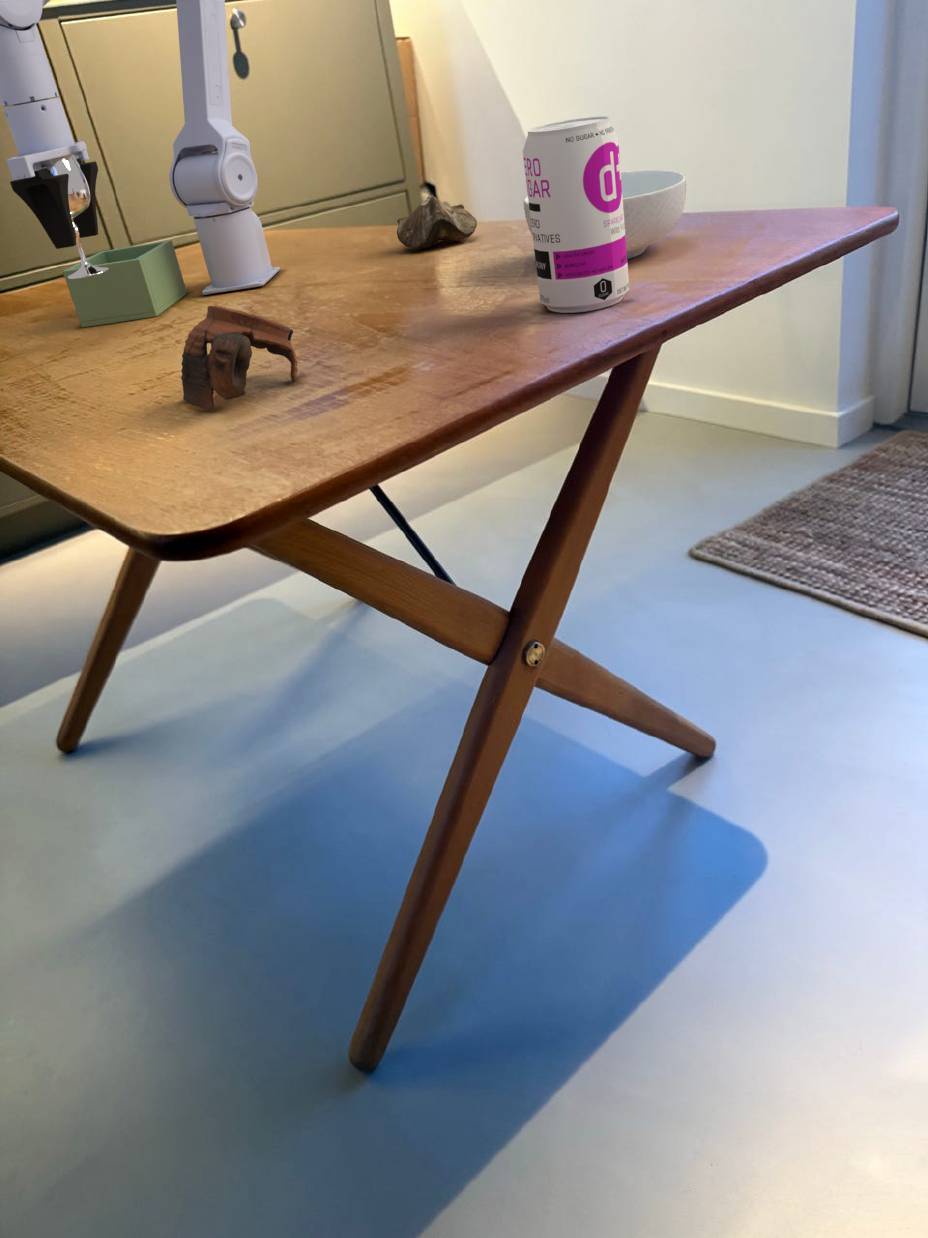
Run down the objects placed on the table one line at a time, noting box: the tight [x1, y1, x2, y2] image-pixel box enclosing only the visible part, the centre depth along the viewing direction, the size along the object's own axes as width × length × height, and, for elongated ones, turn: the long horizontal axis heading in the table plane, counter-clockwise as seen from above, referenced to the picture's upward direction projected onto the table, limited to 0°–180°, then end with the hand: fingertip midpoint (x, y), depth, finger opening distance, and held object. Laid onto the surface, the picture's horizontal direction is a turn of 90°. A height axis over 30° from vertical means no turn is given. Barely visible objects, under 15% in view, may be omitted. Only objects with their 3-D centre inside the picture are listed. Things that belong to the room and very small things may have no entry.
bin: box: [62, 239, 188, 328], centre depth 123 cm, size 12×10×7 cm
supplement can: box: [522, 115, 630, 314], centre depth 89 cm, size 8×8×15 cm
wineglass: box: [41, 154, 109, 279], centre depth 108 cm, size 6×6×12 cm
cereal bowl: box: [523, 169, 687, 260], centre depth 107 cm, size 17×17×7 cm
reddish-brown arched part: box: [180, 305, 299, 411], centre depth 83 cm, size 12×10×8 cm
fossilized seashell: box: [396, 194, 478, 250], centre depth 129 cm, size 8×7×10 cm
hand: (77, 241), depth 109 cm, fingers closed on wineglass, 5 cm apart
